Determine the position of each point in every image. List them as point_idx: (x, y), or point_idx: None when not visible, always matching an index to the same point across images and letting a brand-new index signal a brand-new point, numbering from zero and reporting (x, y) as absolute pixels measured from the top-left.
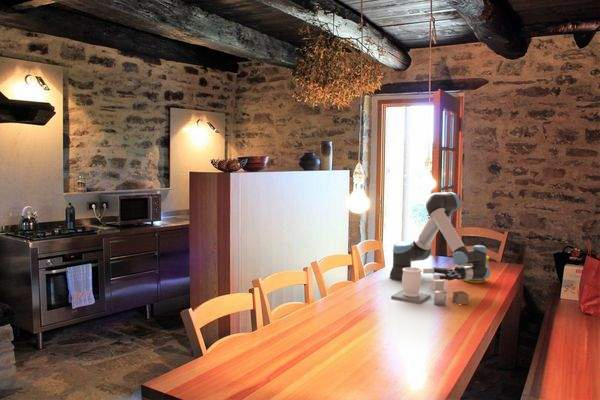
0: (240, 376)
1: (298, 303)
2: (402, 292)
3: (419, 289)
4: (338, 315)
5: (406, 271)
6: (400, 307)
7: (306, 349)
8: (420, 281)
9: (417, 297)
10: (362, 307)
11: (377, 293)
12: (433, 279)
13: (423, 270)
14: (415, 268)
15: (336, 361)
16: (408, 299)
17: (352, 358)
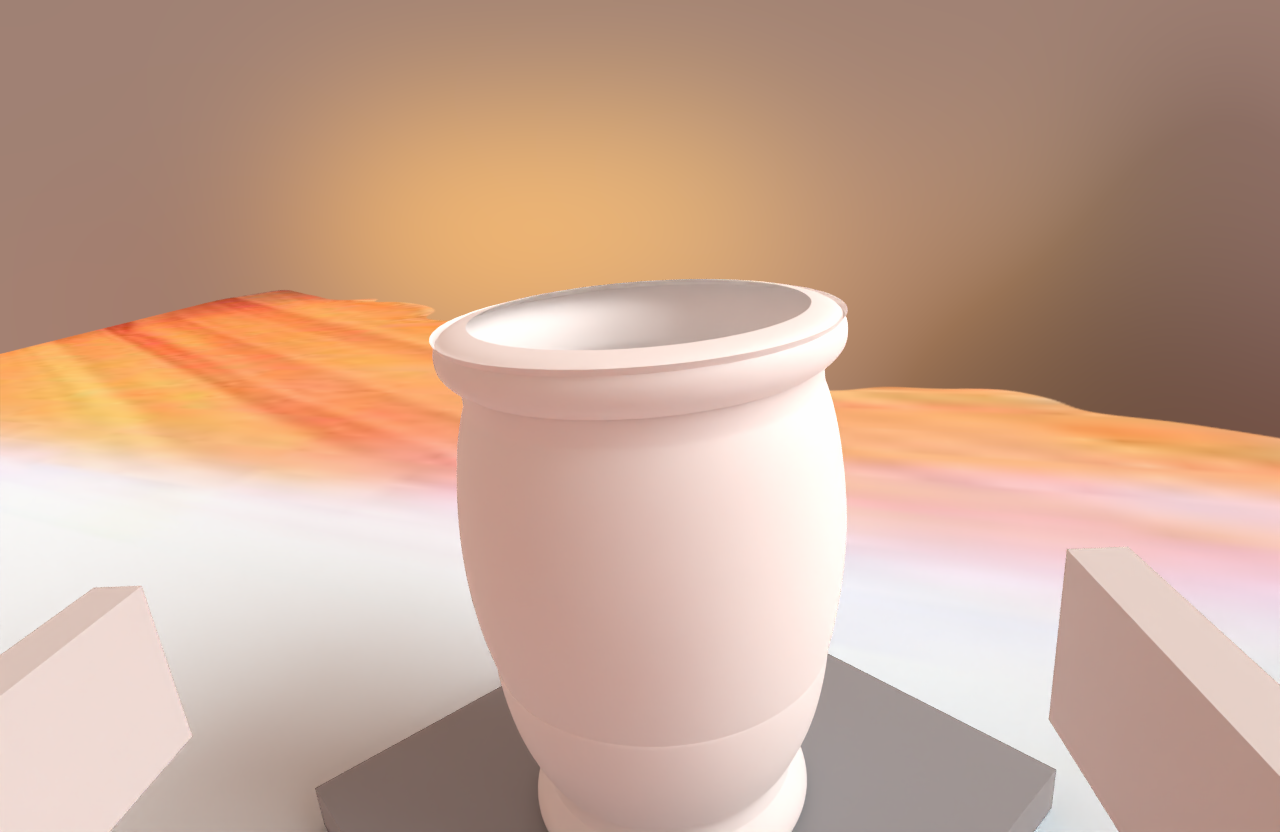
0: (191, 321)
1: None
2: (847, 715)
3: (546, 763)
4: (443, 398)
5: (563, 302)
6: (364, 607)
7: (203, 356)
8: (485, 601)
9: (513, 824)
10: None
11: (904, 559)
12: (181, 735)
13: (1080, 612)
14: (794, 355)
15: (49, 381)
16: (498, 694)
17: (13, 398)
